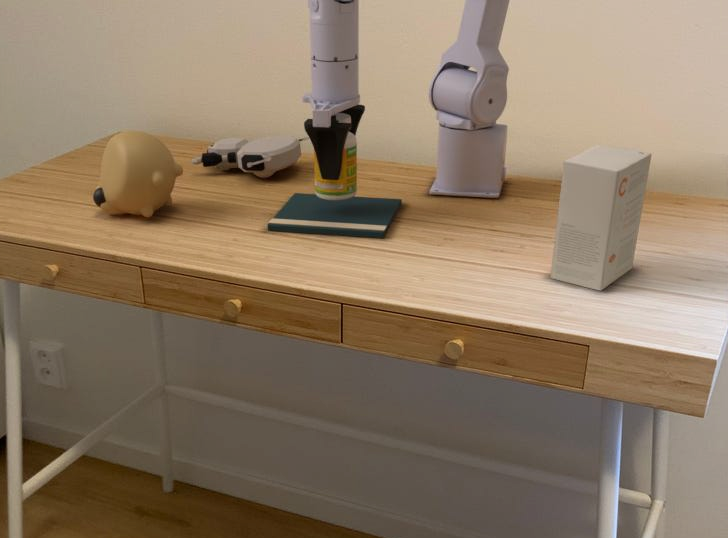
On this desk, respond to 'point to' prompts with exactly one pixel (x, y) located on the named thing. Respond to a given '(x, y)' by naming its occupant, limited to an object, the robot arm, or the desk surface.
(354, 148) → the supplement bottle
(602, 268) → the small box
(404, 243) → the desk surface
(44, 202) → the desk surface
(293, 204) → the teal notebook
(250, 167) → the robot toy
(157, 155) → the toy pig
